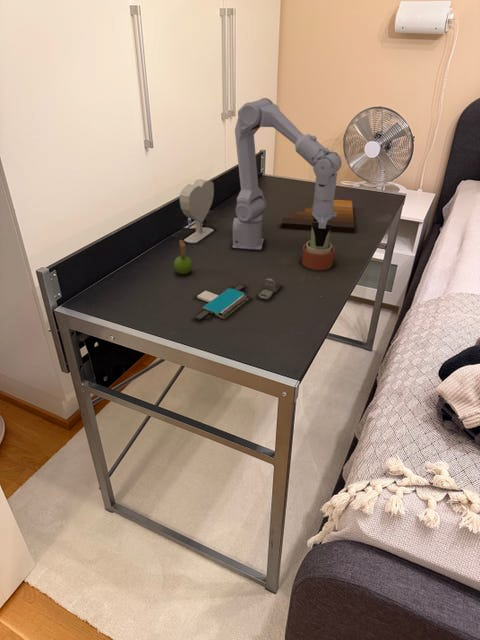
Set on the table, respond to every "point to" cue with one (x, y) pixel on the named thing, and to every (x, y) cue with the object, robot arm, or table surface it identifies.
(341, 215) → the pan flute
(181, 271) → the green candy apple
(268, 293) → the strap clip
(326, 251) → the stack top cup
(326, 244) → the sage cup
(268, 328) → the table surface
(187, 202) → the heart sculpture
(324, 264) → the stack base cup
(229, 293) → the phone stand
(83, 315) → the table surface
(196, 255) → the table surface
